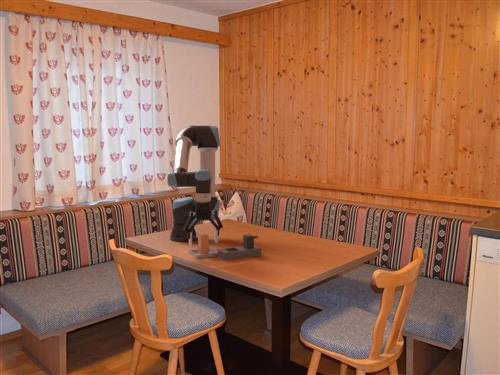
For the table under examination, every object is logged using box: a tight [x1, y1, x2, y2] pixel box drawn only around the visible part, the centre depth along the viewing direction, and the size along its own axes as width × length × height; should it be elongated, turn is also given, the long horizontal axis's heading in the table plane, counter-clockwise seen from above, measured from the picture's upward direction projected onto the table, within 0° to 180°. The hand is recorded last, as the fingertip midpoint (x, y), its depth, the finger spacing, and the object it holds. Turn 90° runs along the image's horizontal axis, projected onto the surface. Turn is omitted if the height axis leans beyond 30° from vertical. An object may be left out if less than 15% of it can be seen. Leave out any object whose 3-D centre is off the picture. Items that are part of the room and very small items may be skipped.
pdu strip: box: [217, 234, 262, 261], centre depth 227 cm, size 8×20×10 cm, turn 118°
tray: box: [188, 246, 218, 259], centre depth 229 cm, size 11×11×2 cm
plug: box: [197, 232, 210, 255], centre depth 229 cm, size 4×4×10 cm
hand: (203, 243), depth 228 cm, fingers open, 13 cm apart
